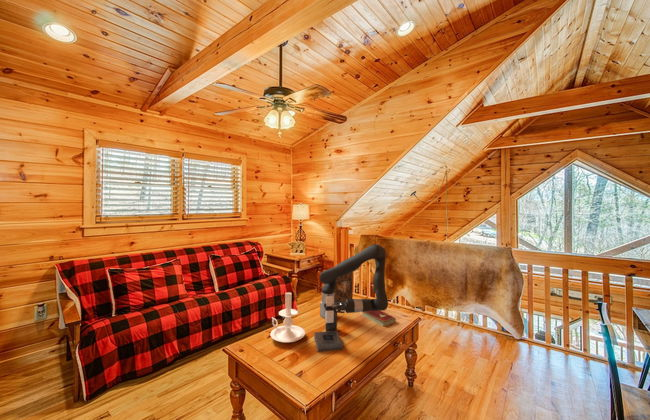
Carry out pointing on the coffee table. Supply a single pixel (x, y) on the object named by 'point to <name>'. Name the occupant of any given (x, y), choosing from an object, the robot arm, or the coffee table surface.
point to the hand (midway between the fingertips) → (324, 307)
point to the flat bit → (332, 324)
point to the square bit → (329, 314)
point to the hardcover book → (379, 317)
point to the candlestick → (287, 324)
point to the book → (344, 287)
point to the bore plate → (328, 341)
